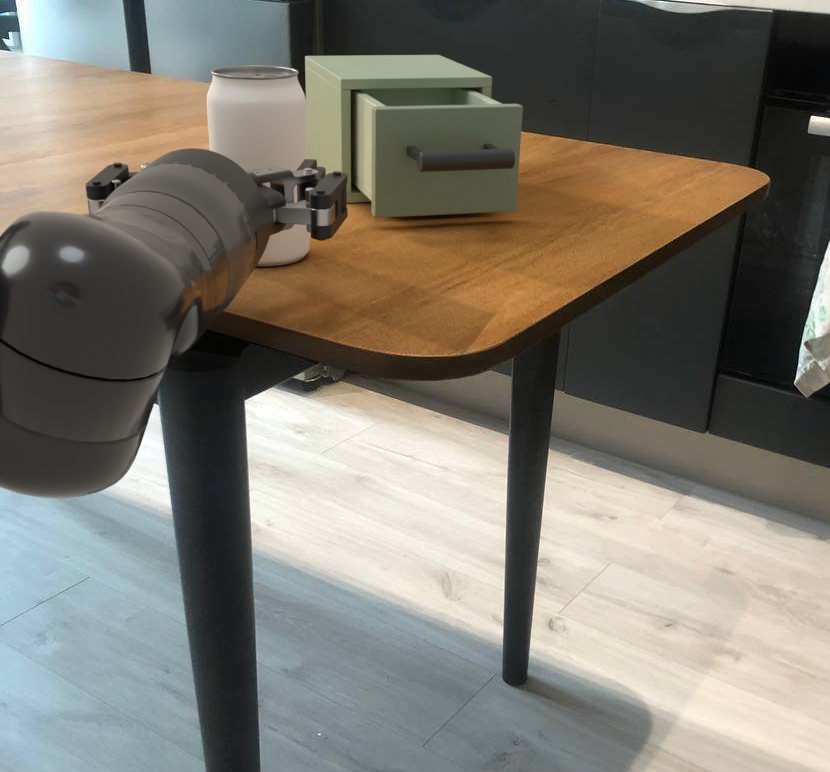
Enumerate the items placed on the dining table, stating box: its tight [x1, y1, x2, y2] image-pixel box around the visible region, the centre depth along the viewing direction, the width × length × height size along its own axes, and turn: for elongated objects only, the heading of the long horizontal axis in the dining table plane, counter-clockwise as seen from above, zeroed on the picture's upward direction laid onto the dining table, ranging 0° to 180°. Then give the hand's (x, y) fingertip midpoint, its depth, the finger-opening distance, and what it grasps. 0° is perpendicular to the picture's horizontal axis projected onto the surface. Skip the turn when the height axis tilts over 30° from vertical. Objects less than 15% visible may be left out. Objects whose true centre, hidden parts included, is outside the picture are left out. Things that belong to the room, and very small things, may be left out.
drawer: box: [350, 88, 524, 219], centre depth 85 cm, size 18×11×8 cm, turn 16°
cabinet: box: [304, 54, 493, 204], centre depth 95 cm, size 15×13×10 cm
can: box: [206, 64, 311, 268], centre depth 73 cm, size 6×6×12 cm
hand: (245, 173), depth 69 cm, fingers open, 8 cm apart
